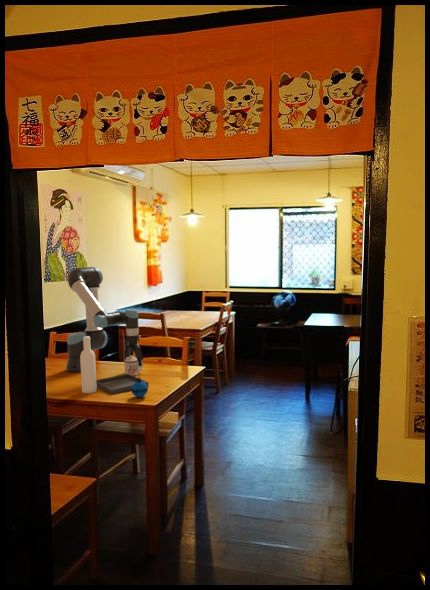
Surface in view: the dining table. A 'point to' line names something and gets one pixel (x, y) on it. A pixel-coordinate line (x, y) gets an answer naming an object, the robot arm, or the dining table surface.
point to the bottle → (88, 367)
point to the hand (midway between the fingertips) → (134, 369)
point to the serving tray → (118, 383)
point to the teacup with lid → (131, 365)
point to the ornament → (139, 388)
